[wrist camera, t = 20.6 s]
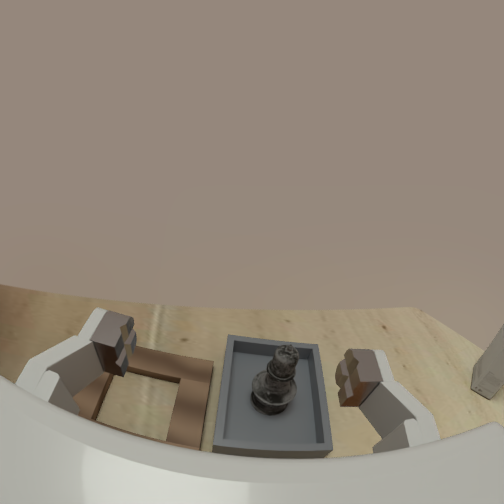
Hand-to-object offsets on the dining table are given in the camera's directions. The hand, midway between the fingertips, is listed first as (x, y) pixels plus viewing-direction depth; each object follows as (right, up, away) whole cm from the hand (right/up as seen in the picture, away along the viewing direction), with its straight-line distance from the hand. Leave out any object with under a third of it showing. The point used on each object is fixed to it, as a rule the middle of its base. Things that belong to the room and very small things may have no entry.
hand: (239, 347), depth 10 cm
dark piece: (+3, -17, +25) cm, 30 cm away
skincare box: (+48, -24, +28) cm, 60 cm away
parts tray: (+3, -17, +25) cm, 31 cm away
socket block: (-15, -17, +21) cm, 31 cm away
